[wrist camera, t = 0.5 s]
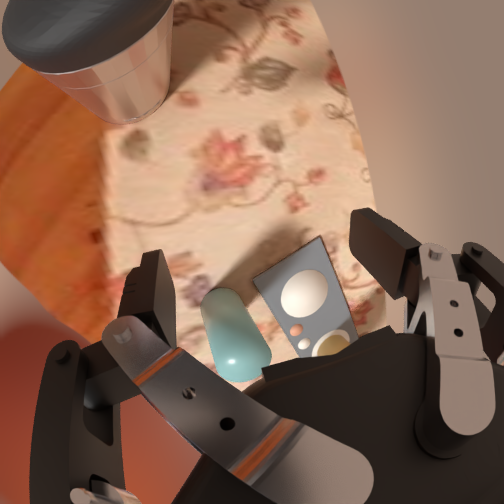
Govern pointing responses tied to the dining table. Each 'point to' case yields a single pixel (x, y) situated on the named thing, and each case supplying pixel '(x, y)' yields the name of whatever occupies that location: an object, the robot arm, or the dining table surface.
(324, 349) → the amber tube
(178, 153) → the dining table surface
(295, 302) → the card
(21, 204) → the dining table surface
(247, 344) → the teal tube
